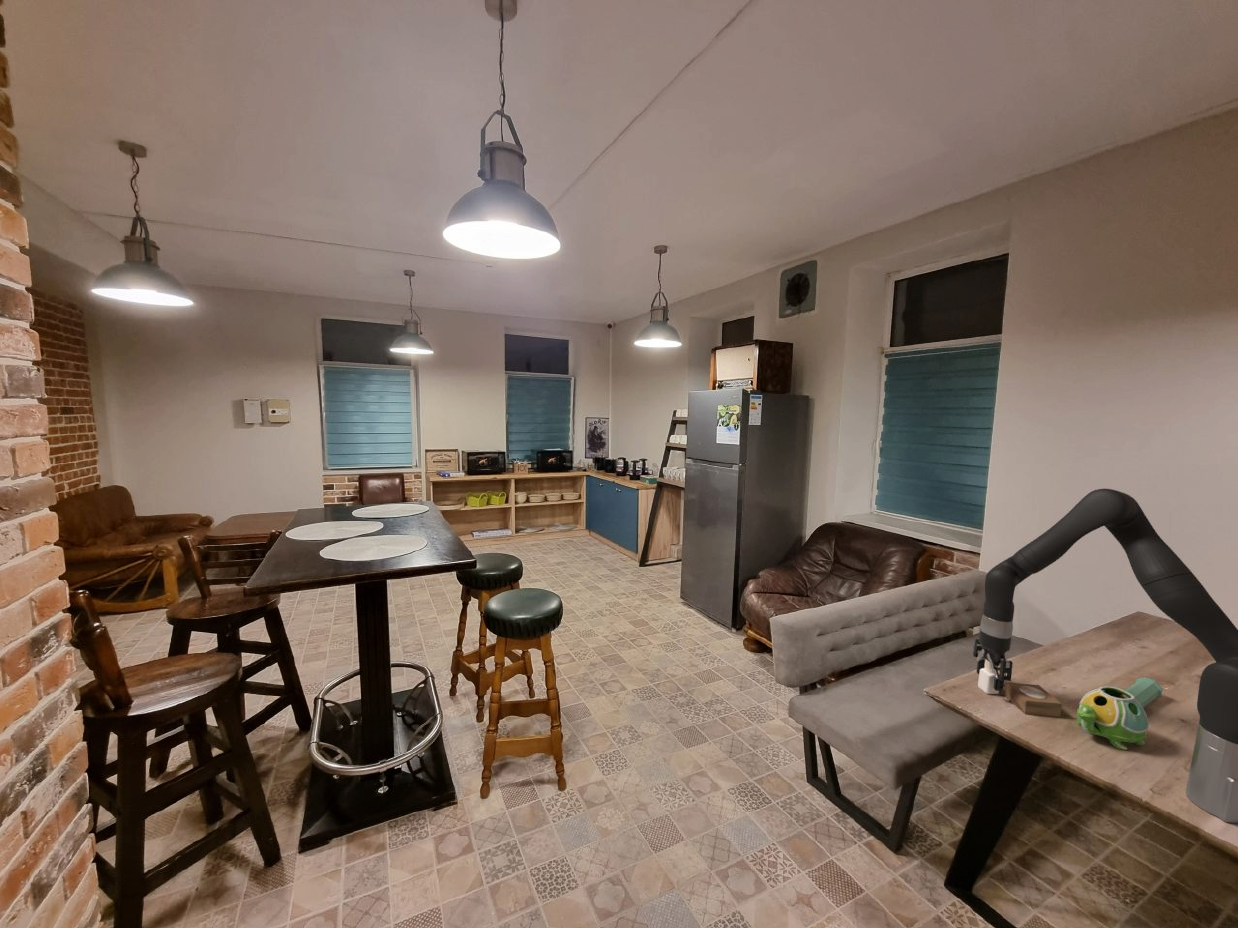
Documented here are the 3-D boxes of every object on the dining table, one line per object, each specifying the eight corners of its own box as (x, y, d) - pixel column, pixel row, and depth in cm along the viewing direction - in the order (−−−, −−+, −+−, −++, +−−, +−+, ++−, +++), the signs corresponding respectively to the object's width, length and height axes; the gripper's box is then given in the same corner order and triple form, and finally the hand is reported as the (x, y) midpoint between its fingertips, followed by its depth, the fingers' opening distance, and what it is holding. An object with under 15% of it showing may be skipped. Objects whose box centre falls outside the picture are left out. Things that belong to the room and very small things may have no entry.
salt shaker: (989, 686, 150) (993, 657, 149) (999, 694, 146) (1003, 664, 145) (976, 686, 150) (980, 657, 148) (986, 694, 146) (990, 664, 144)
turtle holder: (1050, 724, 133) (1056, 683, 131) (1102, 716, 137) (1108, 676, 135) (1103, 756, 121) (1110, 712, 119) (1158, 747, 125) (1166, 704, 123)
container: (1125, 703, 133) (1158, 678, 145) (1097, 699, 138) (1131, 675, 150) (1134, 726, 132) (1166, 699, 144) (1105, 722, 137) (1139, 696, 149)
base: (1060, 716, 136) (1062, 703, 135) (1024, 713, 137) (1026, 699, 136) (1036, 697, 145) (1038, 684, 144) (1003, 694, 146) (1005, 681, 145)
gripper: (1026, 644, 138) (1018, 697, 140) (994, 621, 152) (988, 669, 154) (997, 641, 139) (990, 694, 141) (968, 619, 153) (962, 667, 155)
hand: (989, 681), depth 148 cm, fingers open, 8 cm apart
